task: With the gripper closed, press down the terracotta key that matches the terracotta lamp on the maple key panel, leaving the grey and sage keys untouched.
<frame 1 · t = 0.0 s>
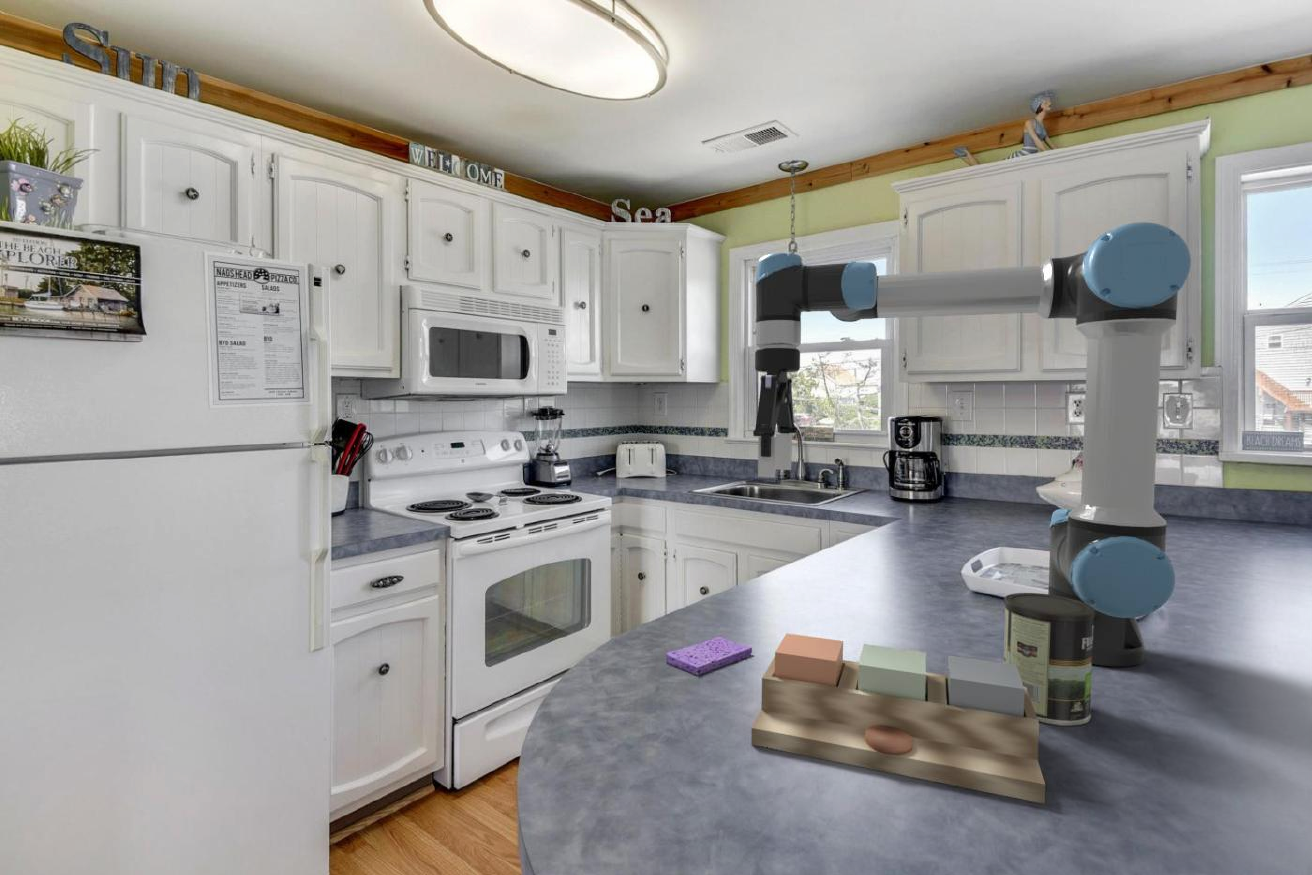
hand: (775, 473, 114), 28 cm above the counter, tool pointing down, fingers open, 13 cm apart
coffee can: (1044, 709, 88), on the counter
sage key: (892, 678, 82), point 6 cm above the counter, slide at 0.0 cm
grey key: (983, 692, 78), point 6 cm above the counter, slide at 0.0 cm
sponges: (709, 662, 105), on the counter
key panel: (891, 730, 82), on the counter
terracotta key: (809, 665, 85), point 6 cm above the counter, slide at 0.0 cm
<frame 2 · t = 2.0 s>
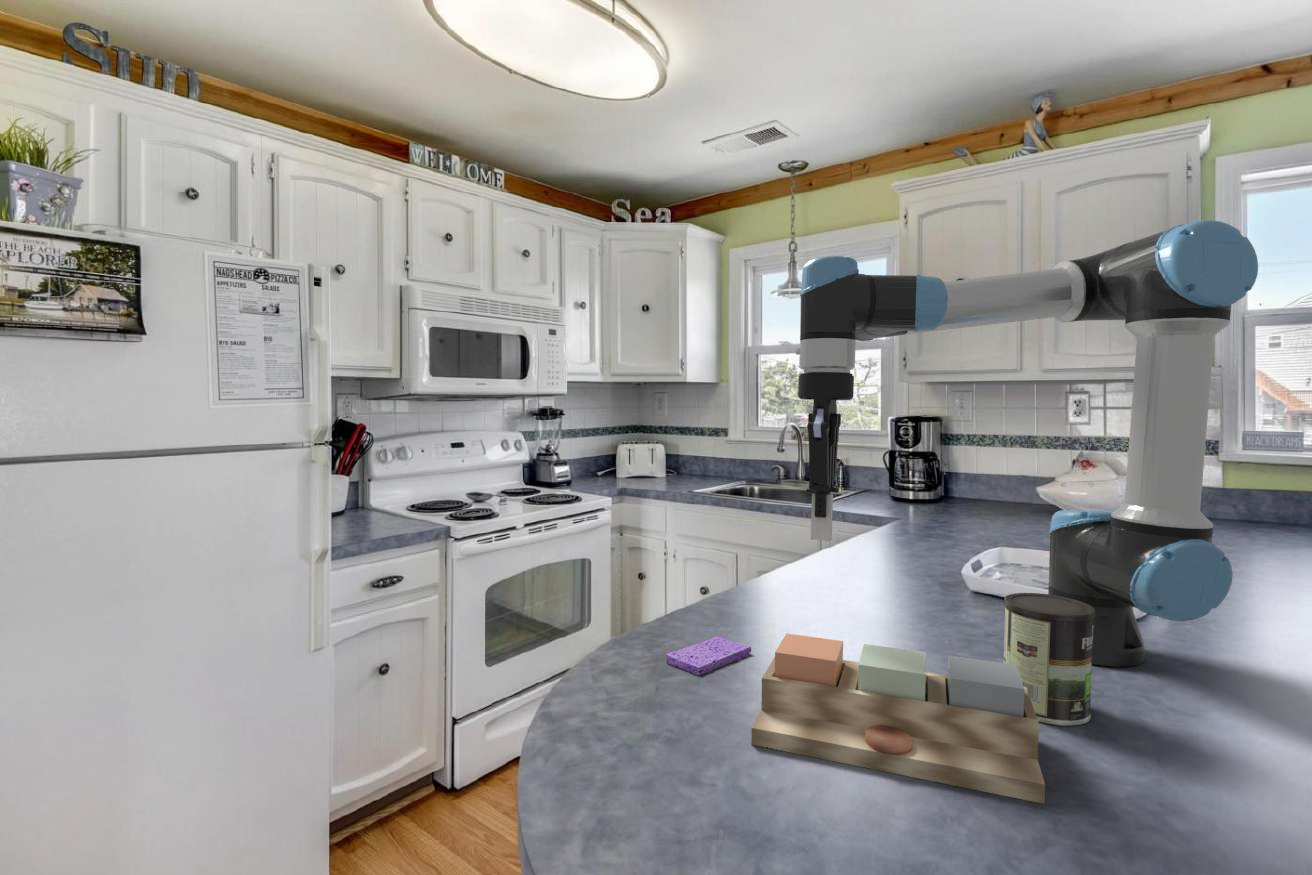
hand: (821, 539, 94), 21 cm above the counter, tool pointing down, fingers closed
nothing on the counter moved.
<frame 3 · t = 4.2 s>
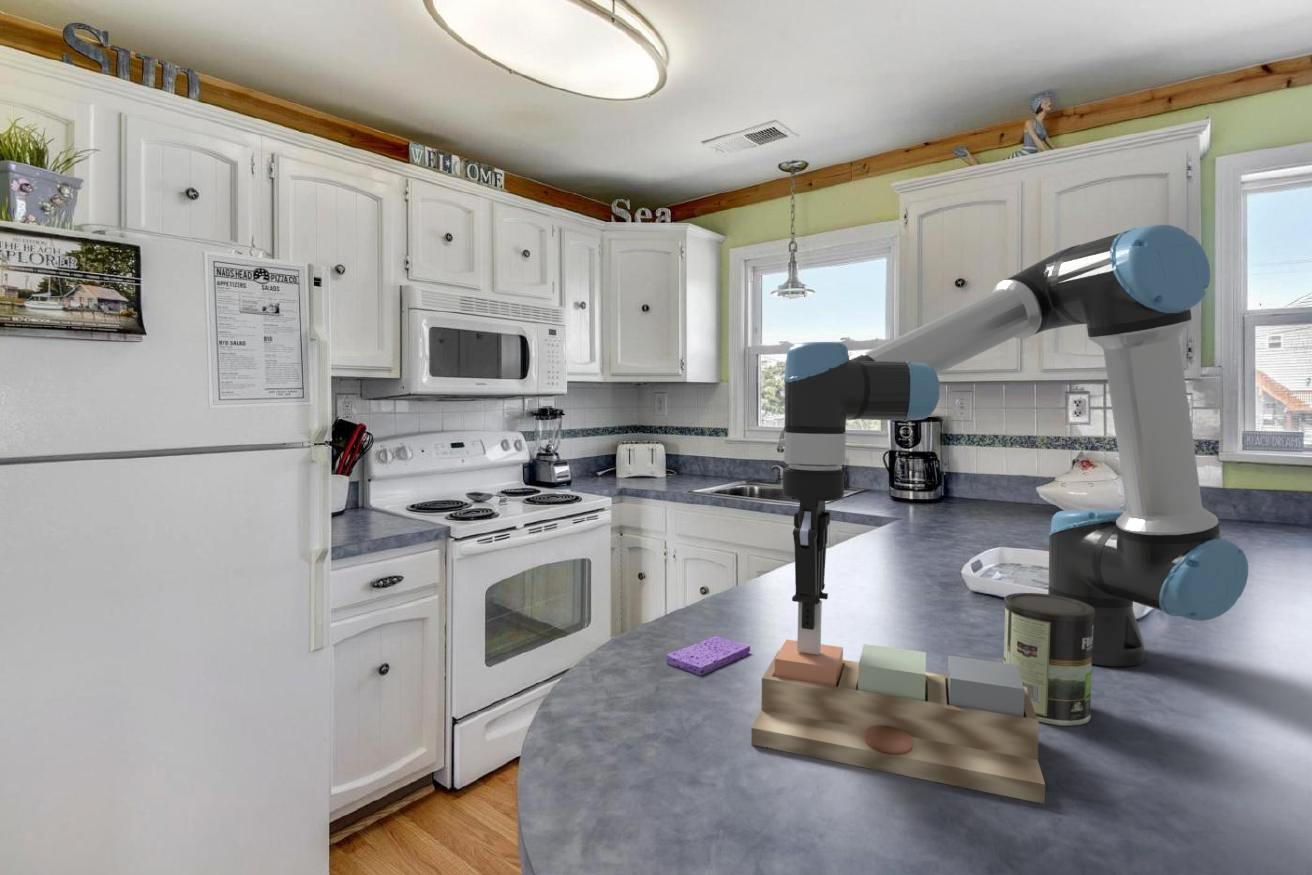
hand: (808, 650, 85), 8 cm above the counter, tool pointing down, fingers closed
terracotta key: (809, 672, 85), point 6 cm above the counter, slide at 0.8 cm, touching gripper
everything else where it was.
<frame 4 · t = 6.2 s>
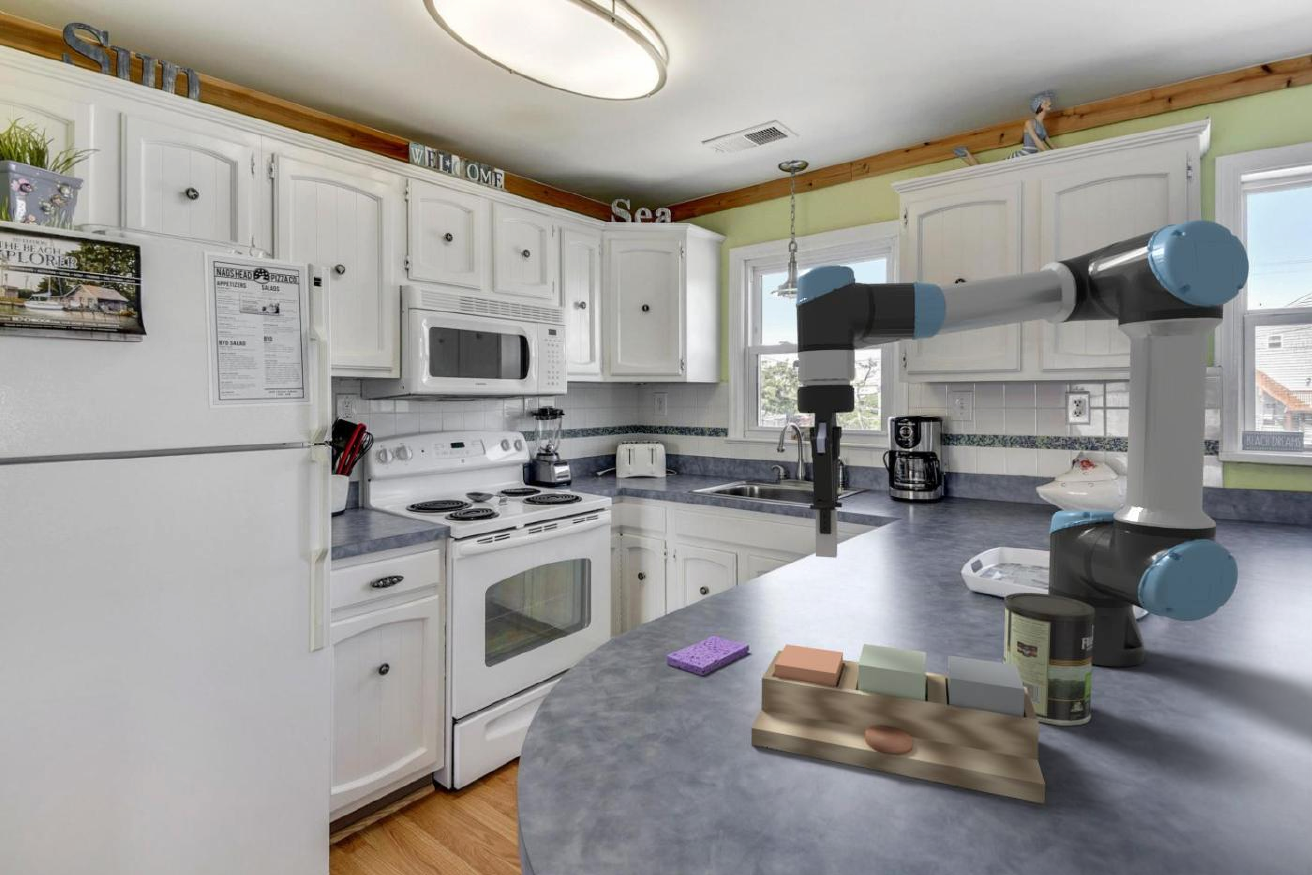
hand: (826, 555, 92), 19 cm above the counter, tool pointing down, fingers closed
terracotta key: (809, 677, 85), point 5 cm above the counter, slide at 1.5 cm
everything else where it was.
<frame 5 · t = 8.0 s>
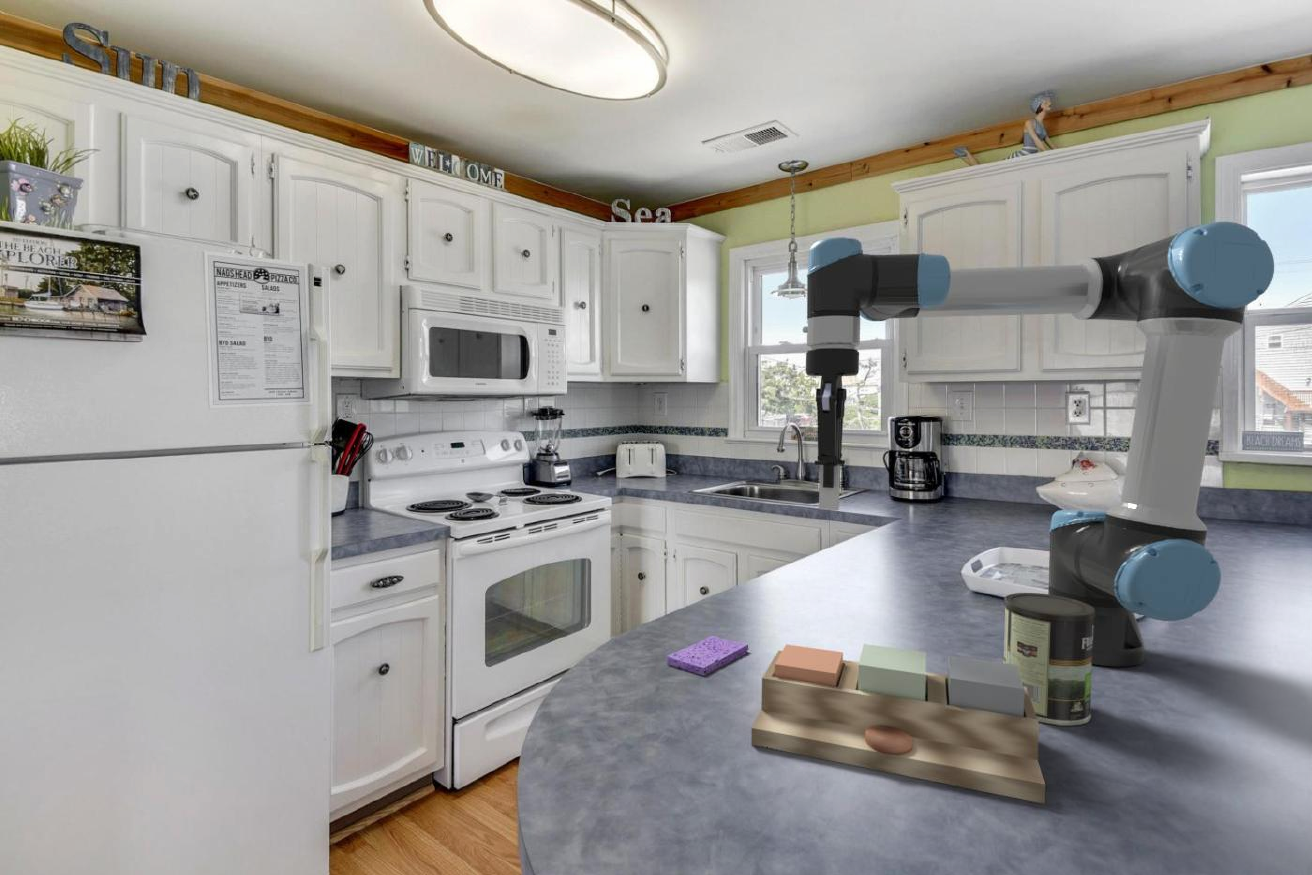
hand: (828, 508, 99), 24 cm above the counter, tool pointing down, fingers closed
nothing on the counter moved.
at the end: terracotta key slide at 1.5 cm; sage key slide at 0.0 cm; grey key slide at 0.0 cm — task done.
